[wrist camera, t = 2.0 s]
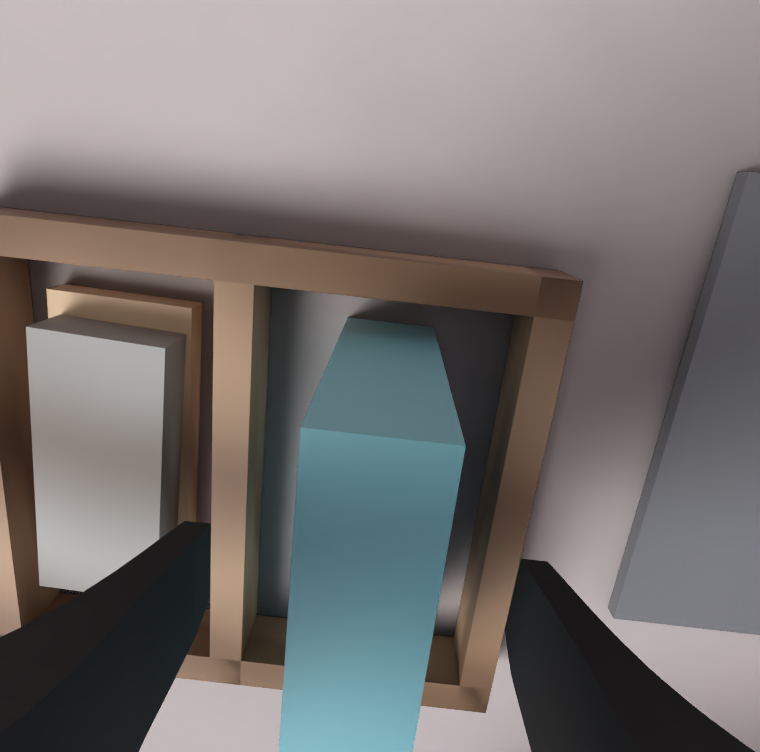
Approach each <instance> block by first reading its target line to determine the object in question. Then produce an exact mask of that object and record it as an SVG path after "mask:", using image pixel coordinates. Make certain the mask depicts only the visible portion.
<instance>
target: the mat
mask: <svg viewBox="0 0 760 752" xmlns="http://www.w3.org/2000/svg"><path fill="white" fill-rule="evenodd" d="M608 609H609V610H610V612H611V614H612V616H613V618H615V619H624V620H632V621H641V622H650V623H659V624H667V625H676V626H685V627H694V628H703V629H711V630H720V631H729V632H738V633H746V634H755V635H760V173H758V172H749V171H748V172H737V174H736V178H735V181H734V185H733V188H732V191H731V195H730V198H729V201H728V205H727V208H726V212H725V215H724V218H723V222H722V225H721V228H720V232H719V235H718V238H717V242H716V245H715V249H714V252H713V255H712V259H711V262H710V265H709V269H708V272H707V276H706V279H705V282H704V286H703V289H702V292H701V296H700V299H699V303H698V306H697V309H696V313H695V316H694V319H693V323H692V326H691V329H690V333H689V336H688V340H687V343H686V346H685V350H684V353H683V356H682V360H681V363H680V367H679V370H678V373H677V377H676V380H675V383H674V387H673V390H672V394H671V397H670V400H669V404H668V407H667V410H666V414H665V417H664V421H663V424H662V427H661V431H660V434H659V437H658V441H657V444H656V447H655V451H654V454H653V458H652V461H651V464H650V468H649V471H648V474H647V478H646V481H645V485H644V488H643V491H642V495H641V498H640V501H639V505H638V508H637V512H636V515H635V518H634V522H633V525H632V528H631V532H630V535H629V538H628V542H627V545H626V549H625V552H624V555H623V559H622V562H621V565H620V569H619V572H618V576H617V579H616V582H615V586H614V589H613V592H612V596H611V599H610V603H609V606H608Z"/></svg>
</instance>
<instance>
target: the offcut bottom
mask: <svg viewBox="0 0 760 752" xmlns="http://www.w3.org/2000/svg"><path fill="white" fill-rule="evenodd" d="M46 291H47V307H48V319H49V318H52V317H54V316H57V315H60V314H62V315H68V316H75V317H81V318H87V319H94V320H100V321H107V322H113V323H119V324H126V325H132V326H138V327H145V328H151V329H158V330H164V331H170V332H177V333H183V334H186V354H185V376H184V398H183V419H182V441H181V463H180V485H179V507H178V525H179V524H181V523H182V522H184V521H191V522H197V486H198V447H199V409H200V371H201V332H202V302H195V301H188V300H180V299H173V298H166V297H158V296H151V295H143V294H136V293H129V292H121V291H114V290H106V289H99V288H92V287H84V286H77V285H69V284H63V285H59V286H55V287H52V288H48V289H46Z"/></svg>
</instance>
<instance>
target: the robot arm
mask: <svg viewBox="0 0 760 752" xmlns="http://www.w3.org/2000/svg"><path fill="white" fill-rule="evenodd" d="M210 563H211V524H209V523H200V522H191V521H184V522H182V523H181V524H179V525H178V526H177V527H175V528H174V529H173V530H171V531H170V532H168V533H167V534H166V535H164V536H163V537H162V538H160V539H159V540H158V541H156V542H155V543H154V544H152V545H151V546H149V547H148V548H147V549H145V550H144V551H143V552H141V553H140V554H139V555H137V556H136V557H134V558H133V559H132V560H130V561H129V562H127V563H126V564H124V565H123V566H122V567H120V568H119V569H117V570H116V571H115V572H113V573H111V574H110V575H108V576H107V577H105V578H104V579H102V580H101V581H99V582H98V583H96V584H94V585H93V586H91V587H90V588H88V589H87V590H85V591H84V592H82V593H81V594H79V595H77V596H76V597H74V598H73V599H71V600H69V601H68V602H66V603H64V604H62V605H61V606H59V607H57V608H56V609H54V610H52V611H50V612H48V613H47V614H45V615H43V616H41V617H39V618H37V619H35V620H34V621H32V622H30V623H28V624H26V625H24V626H22V627H20V628H18V629H16V630H14V631H12V632H10V633H8V634H6V635H4V636H1V637H0V752H139V750H140V748H141V745H142V743H143V741H144V739H145V737H146V735H147V733H148V731H149V729H150V727H151V725H152V723H153V721H154V719H155V717H156V715H157V713H158V711H159V709H160V707H161V705H162V703H163V701H164V699H165V697H166V695H167V693H168V691H169V689H170V687H171V685H172V683H173V681H174V679H175V677H176V675H177V673H178V671H179V669H180V667H181V665H182V663H183V661H184V659H185V657H186V655H187V653H188V651H189V649H190V647H191V645H192V643H193V641H194V639H195V637H196V634H197V632H198V629H199V626H200V624H201V621H202V618H203V615H204V612H205V610H206V607H207V604H208V601H209V598H210ZM505 634H506V642H507V649H508V657H509V663H510V670H511V675H512V679H513V683H514V687H515V691H516V695H517V699H518V703H519V706H520V710H521V714H522V718H523V721H524V725H525V729H526V733H527V736H528V740H529V744H530V747H531V751H532V752H755V751H753V750H752V749H750V748H749V747H747V746H746V745H745V744H743V743H742V742H740V741H739V740H738V739H736V738H735V737H734V736H732V735H731V734H730V733H728V732H727V731H726V730H724V729H723V728H722V727H720V726H719V725H718V724H716V723H715V722H713V721H712V720H711V719H709V718H708V717H707V716H706V715H704V714H703V713H702V712H700V711H699V710H698V709H697V708H695V707H694V706H693V705H692V704H690V703H689V702H688V701H687V700H686V699H684V698H683V697H682V696H681V695H680V694H678V693H677V692H676V691H675V690H674V689H673V688H671V687H670V686H669V685H668V684H667V683H665V682H664V681H663V680H662V679H661V678H660V677H658V676H657V675H656V674H655V673H654V672H653V671H652V670H651V669H650V668H648V667H647V666H646V665H645V664H644V663H643V662H642V661H641V660H640V659H639V658H638V657H637V656H636V655H635V654H634V653H633V652H632V651H631V650H630V649H629V648H628V647H627V646H625V645H624V644H623V643H622V642H621V641H620V640H619V639H618V638H617V637H616V636H615V635H614V633H613V632H612V631H611V630H610V629H609V628H608V627H607V626H606V625H605V624H604V623H603V622H602V621H601V620H600V619H599V618H598V617H597V616H596V615H595V614H594V612H593V611H592V610H591V609H590V608H589V607H588V606H587V605H586V604H585V603H584V602H583V600H582V599H581V598H580V597H579V596H578V595H577V594H576V593H575V592H574V590H573V589H572V588H571V587H570V586H569V585H568V584H567V583H566V581H565V580H564V579H563V578H562V577H561V576H560V575H559V574H558V573H557V571H556V570H555V569H554V568H553V567H552V566H551V565H550V564H549V563H548V562H546V561H537V560H528V559H521V561H520V566H519V570H518V574H517V579H516V583H515V587H514V592H513V596H512V601H511V605H510V609H509V614H508V618H507V622H506V627H505Z"/></svg>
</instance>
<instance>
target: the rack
mask: <svg viewBox="0 0 760 752" xmlns="http://www.w3.org/2000/svg"><path fill="white" fill-rule="evenodd" d="M28 259H32V260H40V261H49V262H58V263H67V264H75V265H84V266H93V267H102V268H110V269H119V270H128V271H137V272H146V273H154V274H163V275H172V276H181V277H189V278H198V279H207V280H214V319H213V407H212V496H211V585H210V610H209V609H206V610H205V612H204V615H203V618H202V621H201V624H200V626H199V629H198V632H197V634H196V637H195V639H194V641H193V643H192V645H191V647H190V649H189V651H188V653H187V655H186V657H185V659H184V661H183V663H182V665H181V667H180V669H179V671H178V673H177V675H176V677H175V678H183V679H192V680H201V681H210V682H218V683H227V684H236V685H245V686H254V687H262V688H271V689H280V690H283V679H284V664H285V649H286V635H287V620H288V618H280V617H271V616H262V615H257V599H258V577H259V555H260V532H261V510H262V488H263V466H264V443H265V421H266V399H267V376H268V354H269V332H270V310H271V287H277V288H286V289H295V290H303V291H312V292H321V293H330V294H338V295H347V296H356V297H365V298H373V299H382V300H391V301H400V302H409V303H417V304H426V305H435V306H444V307H452V308H461V309H470V310H479V311H487V312H496V313H505V314H514V315H515V318H514V323H513V328H512V333H511V339H510V344H509V349H508V355H507V360H506V365H505V370H504V376H503V381H502V386H501V391H500V397H499V402H498V407H497V412H496V418H495V423H494V428H493V433H492V439H491V444H490V449H489V455H488V460H487V465H486V470H485V476H484V481H483V486H482V491H481V497H480V502H479V507H478V512H477V518H476V523H475V528H474V533H473V539H472V544H471V549H470V554H469V560H468V565H467V570H466V576H465V581H464V586H463V591H462V597H461V602H460V607H459V612H458V618H457V623H456V628H455V633H454V637H446V636H438V635H433V637H432V643H431V648H430V654H429V660H428V666H427V671H426V677H425V683H424V688H423V694H422V700H421V706H429V707H438V708H447V709H455V710H464V711H473V712H482V713H486V709H487V705H488V700H489V696H490V691H491V687H492V682H493V678H494V674H495V669H496V665H497V660H498V656H499V651H500V647H501V643H502V638H503V634H504V629H505V625H506V621H507V616H508V612H509V607H510V603H511V598H512V594H513V590H514V585H515V581H516V576H517V572H518V567H519V563H520V559H521V554H522V550H523V545H524V541H525V536H526V532H527V528H528V523H529V519H530V514H531V510H532V505H533V501H534V497H535V492H536V488H537V483H538V479H539V474H540V470H541V466H542V461H543V457H544V452H545V448H546V443H547V439H548V435H549V430H550V426H551V421H552V417H553V413H554V408H555V404H556V399H557V395H558V390H559V386H560V382H561V377H562V373H563V368H564V364H565V359H566V355H567V351H568V346H569V342H570V337H571V333H572V328H573V324H574V320H575V315H576V311H577V306H578V302H579V297H580V293H581V289H582V284H583V281H582V280H579V279H577V278H575V277H573V276H571V275H568V274H566V273H564V272H562V271H558V270H549V269H540V268H532V267H523V266H514V265H505V264H496V263H488V262H479V261H470V260H461V259H453V258H444V257H435V256H426V255H418V254H409V253H400V252H391V251H383V250H374V249H365V248H356V247H347V246H339V245H330V244H321V243H312V242H304V241H295V240H286V239H277V238H269V237H260V236H251V235H242V234H234V233H225V232H216V231H207V230H198V229H190V228H181V227H172V226H163V225H155V224H146V223H137V222H128V221H120V220H111V219H102V218H93V217H84V216H76V215H67V214H58V213H49V212H41V211H32V210H23V209H14V208H6V207H0V637H1V636H4V635H6V634H8V633H10V632H12V631H14V630H16V629H18V628H20V627H22V626H24V625H26V624H28V623H30V622H32V621H34V620H35V619H37V618H39V617H41V616H43V615H45V614H47V613H48V612H50V611H52V610H54V609H56V608H57V607H59V606H61V605H62V604H64V603H66V602H68V601H69V600H71V599H73V598H74V597H76V596H77V595H78V594H69V593H60V589H59V588H53V587H45V586H40V585H39V566H38V547H37V528H36V509H35V490H34V471H33V452H32V433H31V414H30V395H29V376H28V357H27V338H26V327H27V326H29V325H32V324H34V318H33V307H32V297H31V286H30V276H29V265H28Z"/></svg>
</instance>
